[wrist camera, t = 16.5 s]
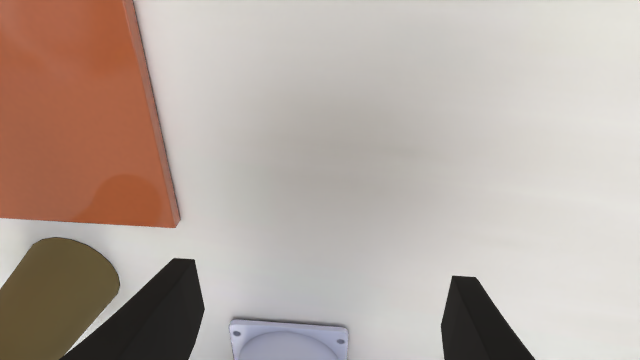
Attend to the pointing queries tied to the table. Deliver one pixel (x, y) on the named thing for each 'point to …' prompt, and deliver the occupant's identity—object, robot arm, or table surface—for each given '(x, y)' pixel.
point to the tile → (79, 117)
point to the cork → (53, 299)
